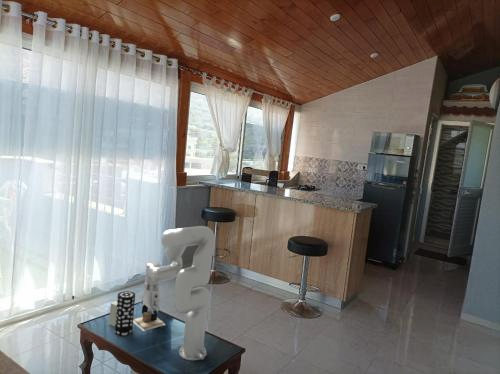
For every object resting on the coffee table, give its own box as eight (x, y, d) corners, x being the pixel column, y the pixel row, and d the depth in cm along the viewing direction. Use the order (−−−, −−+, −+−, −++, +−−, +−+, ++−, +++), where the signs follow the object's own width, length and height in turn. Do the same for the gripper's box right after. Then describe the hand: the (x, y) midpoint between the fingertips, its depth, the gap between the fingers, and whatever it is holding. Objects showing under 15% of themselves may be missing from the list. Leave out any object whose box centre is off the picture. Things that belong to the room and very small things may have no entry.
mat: (165, 325, 191) (165, 324, 191) (143, 332, 182) (143, 331, 182) (153, 316, 200) (153, 315, 200) (131, 322, 191) (131, 321, 191)
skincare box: (118, 321, 191) (119, 299, 190) (124, 323, 189) (125, 301, 188) (108, 325, 185) (110, 302, 184) (114, 328, 183) (116, 305, 182)
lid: (163, 324, 191) (164, 314, 191) (144, 329, 183) (145, 319, 183) (152, 316, 199) (153, 306, 198) (134, 321, 191) (135, 311, 191)
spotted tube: (122, 327, 185) (125, 290, 183) (135, 331, 182) (138, 293, 180) (110, 334, 177) (113, 295, 175) (124, 339, 174) (128, 299, 172)
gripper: (166, 290, 186) (163, 321, 188) (150, 279, 198) (147, 309, 200) (153, 292, 181) (150, 325, 182) (137, 281, 193) (134, 312, 194)
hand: (149, 316), depth 191 cm, fingers open, 9 cm apart
